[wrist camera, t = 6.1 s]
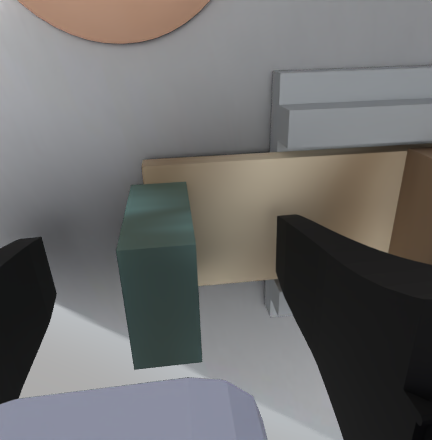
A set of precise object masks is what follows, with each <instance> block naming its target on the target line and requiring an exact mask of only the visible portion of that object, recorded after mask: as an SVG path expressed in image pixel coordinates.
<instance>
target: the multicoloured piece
mask: <svg viewBox="0 0 432 440" xmlns="http://www.w3.org/2000/svg"><path fill="white" fill-rule="evenodd" d="M419 147H432V143H427V144H410V145H392V146H375V147H357V148H340V149H322V150H305V151H287V152H270V153H252V154H235V155H217V156H200V157H182V158H165V159H147V160H143V162H142V175H143V184H139V185H131V188H130V192H129V197H128V201H127V205H126V210H125V214H124V218H123V223H122V227H121V231H120V236H119V240H118V244H117V249H116V254H117V261H118V267H119V274H120V280H121V287H122V293H123V299H124V306H125V312H126V319H127V325H128V332H129V338H130V345H131V351H132V358H133V364H134V369H144V368H153V367H162V366H171V365H180V364H190V363H199V362H202V349H201V330H200V311H199V292H198V286H206V285H217V284H228V283H239V282H250V281H261V280H272V279H278V277H277V274H276V236H277V216H281V215H292V214H297V215H300V216H303V217H305V218H307V219H310V220H312V221H314V222H316V223H318V224H320V225H322V226H324V227H326V228H328V229H330V230H332V231H334V232H336V233H339V234H341V235H343V236H345V237H347V238H350V239H352V240H354V241H357V242H359V243H362V244H364V245H367V246H369V247H372V248H374V249H377V250H380V251H383V252H386V253H388V251H389V245H390V240H391V235H392V230H393V224H394V219H395V214H396V208H397V203H398V198H399V193H400V187H401V182H402V177H403V172H404V166H405V161H406V156H407V151H408V148H419Z"/></svg>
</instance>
